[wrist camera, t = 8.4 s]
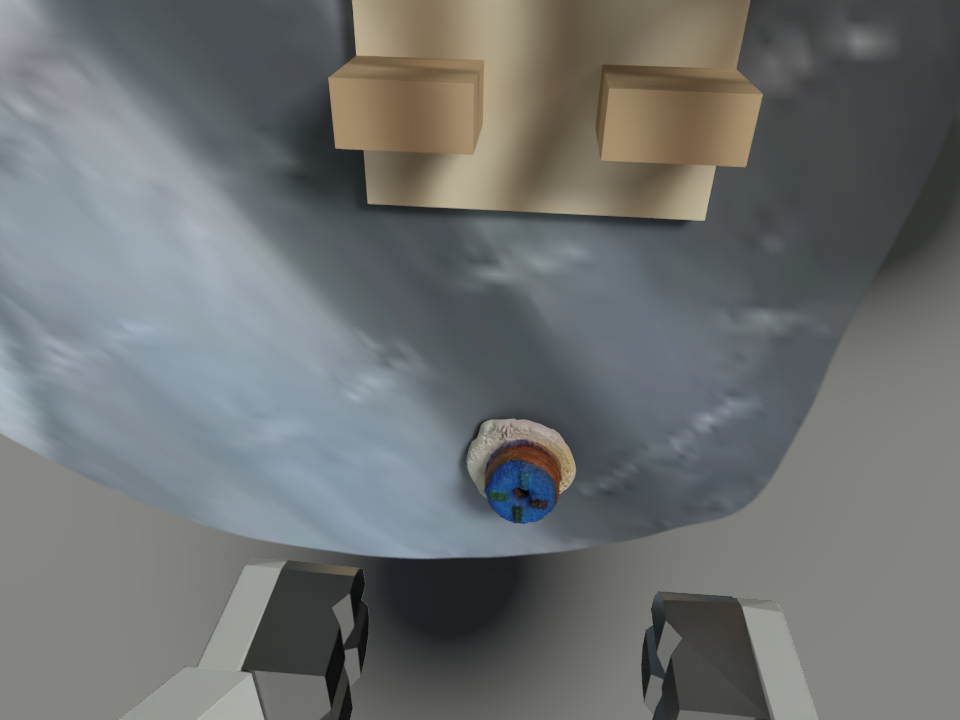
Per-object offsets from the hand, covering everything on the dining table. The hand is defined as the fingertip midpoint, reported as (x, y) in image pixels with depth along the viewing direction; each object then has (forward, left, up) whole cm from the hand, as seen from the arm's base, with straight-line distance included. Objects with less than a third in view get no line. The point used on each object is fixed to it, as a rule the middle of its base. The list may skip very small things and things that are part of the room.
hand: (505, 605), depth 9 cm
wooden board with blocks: (0, 0, -31) cm, 31 cm away
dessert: (+25, +2, -32) cm, 40 cm away
